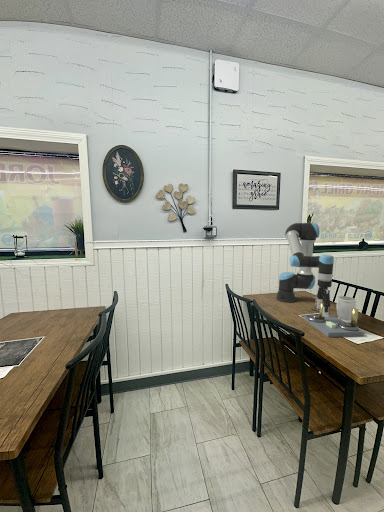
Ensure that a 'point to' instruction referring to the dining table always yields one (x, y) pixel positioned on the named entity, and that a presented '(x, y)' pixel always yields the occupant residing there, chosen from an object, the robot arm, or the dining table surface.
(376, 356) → the dining table surface
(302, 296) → the dining table surface
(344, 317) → the jar
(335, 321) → the plate
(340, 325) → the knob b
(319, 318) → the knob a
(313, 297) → the figurine
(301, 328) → the dining table surface
